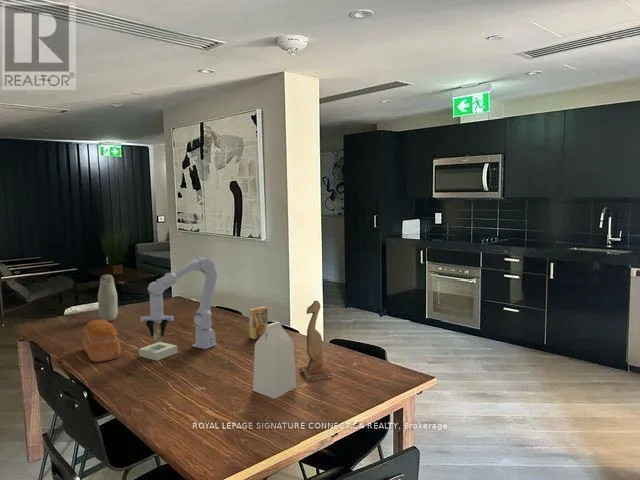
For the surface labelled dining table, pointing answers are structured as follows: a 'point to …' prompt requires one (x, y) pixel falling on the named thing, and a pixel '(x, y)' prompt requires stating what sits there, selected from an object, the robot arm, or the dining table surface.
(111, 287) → the grey bottle
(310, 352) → the bird sculpture
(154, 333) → the peg
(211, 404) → the dining table surface
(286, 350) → the milk
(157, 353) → the socket block
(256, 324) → the candy box
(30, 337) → the dining table surface
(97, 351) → the bread
